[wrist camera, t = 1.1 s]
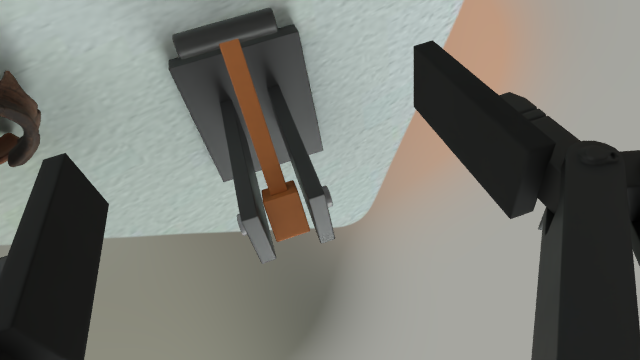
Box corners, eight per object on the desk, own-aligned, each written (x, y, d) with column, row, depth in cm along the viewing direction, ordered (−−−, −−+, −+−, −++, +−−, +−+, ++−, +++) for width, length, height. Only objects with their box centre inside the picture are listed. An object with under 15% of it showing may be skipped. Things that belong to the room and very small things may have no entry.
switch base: (168, 60, 30) (168, 189, 19) (293, 24, 30) (359, 128, 20) (222, 172, 38) (242, 305, 27) (319, 141, 39) (375, 258, 28)
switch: (176, 36, 22) (168, 33, 20) (269, 9, 22) (271, 4, 20) (250, 234, 26) (251, 251, 24) (327, 209, 27) (335, 223, 25)
